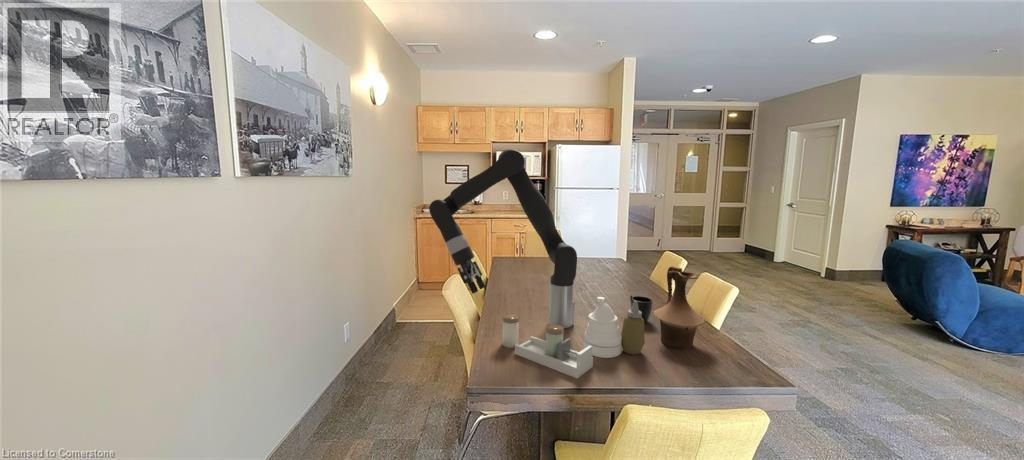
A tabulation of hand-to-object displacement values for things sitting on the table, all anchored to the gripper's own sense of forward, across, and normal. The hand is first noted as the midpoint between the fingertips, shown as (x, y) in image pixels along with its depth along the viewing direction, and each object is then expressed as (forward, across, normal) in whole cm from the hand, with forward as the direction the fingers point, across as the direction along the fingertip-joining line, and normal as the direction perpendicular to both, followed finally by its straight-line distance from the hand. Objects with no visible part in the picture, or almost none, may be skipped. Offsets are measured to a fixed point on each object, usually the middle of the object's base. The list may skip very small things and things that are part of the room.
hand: (479, 290), depth 138 cm
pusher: (+32, -10, -20) cm, 40 cm away
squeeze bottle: (+42, +6, -38) cm, 57 cm away
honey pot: (+38, +5, -30) cm, 48 cm away
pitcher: (+50, +18, -53) cm, 75 cm away
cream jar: (+22, 0, -2) cm, 22 cm away
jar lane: (+31, -8, -15) cm, 35 cm away
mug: (+42, +38, -44) cm, 72 cm away
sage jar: (+30, -8, -16) cm, 35 cm away
